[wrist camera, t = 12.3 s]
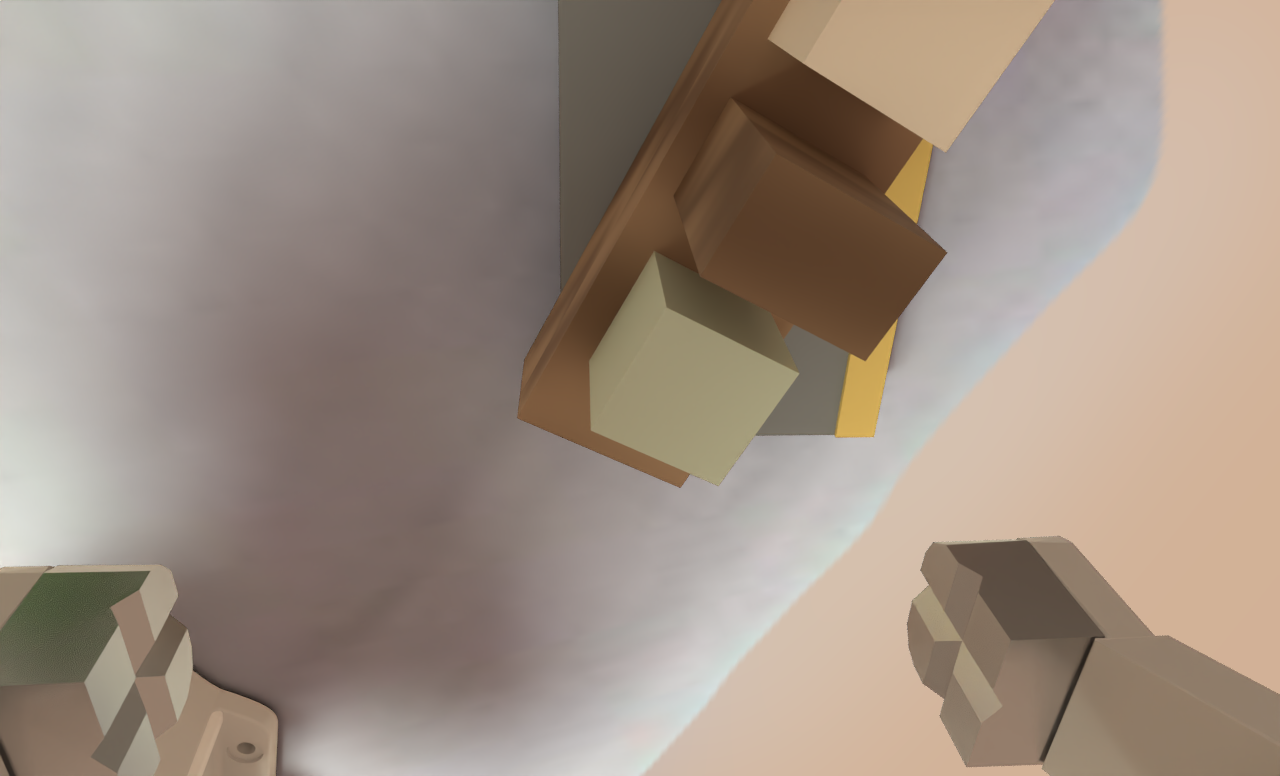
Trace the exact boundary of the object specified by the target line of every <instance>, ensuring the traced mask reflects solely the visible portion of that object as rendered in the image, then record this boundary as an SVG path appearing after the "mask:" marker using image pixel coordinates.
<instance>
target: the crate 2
mask: <svg viewBox="0 0 1280 776" xmlns="http://www.w3.org/2000/svg"><path fill="white" fill-rule="evenodd" d="M1054 1H1055V0H790V1H789V3H788V5H787V6H786V8H785V10H784V12H783V13H782V15H781V17H780V18H779V20H778V22H777V23H776V25H775V27H774V29H773V30H772V32H771V34H770V35H769V37H768V40H770V41H771V42H773V43H774V44H776V45H777V46H779V47H780V48H782V49H783V50H784V51H786V52H787V53H789V54H790V55H792V56H793V57H795V58H796V59H798V60H799V61H800V62H802V63H803V64H805V65H807V66H808V67H810V68H811V69H813V70H815V71H816V72H818V73H819V74H821V75H823V76H824V77H826V78H827V79H829V80H830V81H832V82H834V83H835V84H837V85H838V86H840V87H842V88H843V89H845V90H846V91H848V92H850V93H851V94H853V95H854V96H856V97H858V98H859V99H861V100H862V101H864V102H866V103H867V104H869V105H870V106H872V107H874V108H875V109H877V110H878V111H880V112H882V113H883V114H885V115H886V116H888V117H890V118H891V119H893V120H894V121H896V122H898V123H899V124H901V125H902V126H904V127H906V128H907V129H909V130H910V131H912V132H914V133H915V134H917V135H918V136H920V137H921V138H923V139H925V140H926V141H928V142H929V143H931V144H933V145H934V146H936V147H937V148H939V149H941V150H942V151H944V152H945V153H946V152H947V150H948V149H949V148H950V146H951V145H952V143H953V142H954V141H955V139H956V138H957V136H958V135H959V134H960V132H961V131H962V129H963V128H964V127H965V125H966V124H967V122H968V121H969V120H970V118H971V117H972V115H973V114H974V113H975V111H976V110H977V108H978V107H979V106H980V104H981V103H982V101H983V100H984V99H985V97H986V96H987V94H988V93H989V92H990V90H991V89H992V87H993V86H994V85H995V83H996V82H997V80H998V79H999V78H1000V76H1001V75H1002V73H1003V72H1004V71H1005V69H1006V68H1007V66H1008V65H1009V64H1010V62H1011V61H1012V59H1013V58H1014V57H1015V55H1016V54H1017V52H1018V51H1019V50H1020V48H1021V47H1022V45H1023V44H1024V43H1025V41H1026V40H1027V38H1028V37H1029V36H1030V34H1031V33H1032V31H1033V30H1034V29H1035V27H1036V26H1037V24H1038V23H1039V22H1040V20H1041V19H1042V17H1043V16H1044V15H1045V13H1046V12H1047V10H1048V9H1049V8H1050V6H1051V5H1052V3H1053V2H1054Z"/></svg>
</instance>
